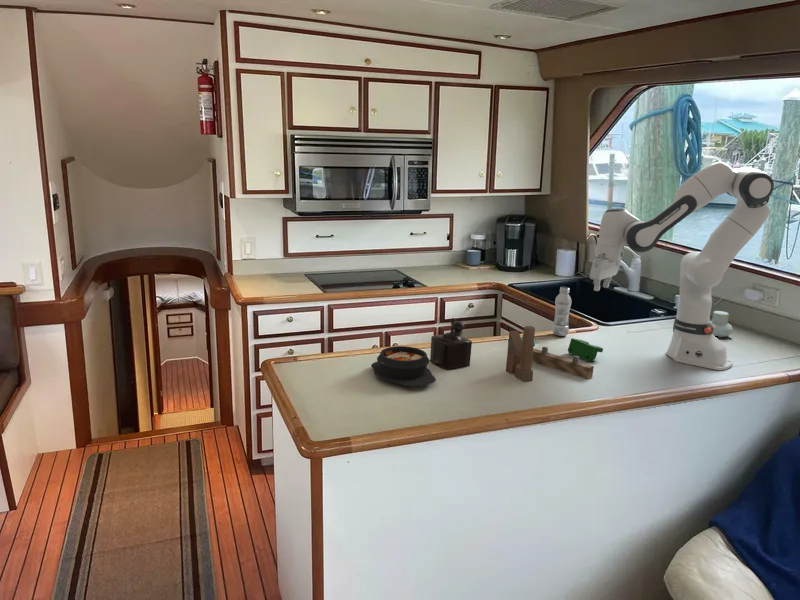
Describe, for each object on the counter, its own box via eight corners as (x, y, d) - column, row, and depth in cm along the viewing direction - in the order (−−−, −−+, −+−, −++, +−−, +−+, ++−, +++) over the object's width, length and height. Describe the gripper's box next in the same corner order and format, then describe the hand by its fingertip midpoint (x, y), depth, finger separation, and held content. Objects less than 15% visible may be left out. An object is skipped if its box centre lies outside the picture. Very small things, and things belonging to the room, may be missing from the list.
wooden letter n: (514, 369, 216) (518, 319, 211) (532, 381, 206) (538, 328, 202) (505, 371, 214) (509, 320, 210) (523, 382, 205) (528, 329, 200)
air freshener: (700, 331, 272) (704, 309, 269) (718, 331, 272) (722, 309, 270) (715, 339, 261) (719, 316, 259) (734, 339, 262) (738, 316, 259)
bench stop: (592, 377, 212) (594, 360, 210) (588, 379, 210) (590, 362, 208) (531, 358, 228) (532, 342, 227) (526, 360, 226) (528, 344, 224)
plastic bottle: (559, 338, 252) (564, 290, 248) (548, 333, 258) (553, 286, 253) (571, 337, 255) (577, 289, 250) (560, 332, 261) (565, 285, 256)
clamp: (593, 370, 231) (607, 352, 227) (582, 369, 228) (596, 350, 224) (575, 349, 240) (588, 331, 236) (564, 347, 236) (577, 329, 232)
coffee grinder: (427, 361, 220) (430, 312, 216) (453, 357, 226) (456, 308, 221) (453, 376, 207) (456, 324, 203) (480, 371, 213) (484, 320, 209)
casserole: (357, 370, 209) (358, 346, 207) (403, 361, 220) (404, 338, 218) (401, 396, 190) (402, 370, 187) (449, 385, 200) (450, 360, 198)
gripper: (606, 256, 221) (599, 294, 224) (625, 251, 237) (618, 287, 240) (589, 253, 224) (582, 290, 228) (609, 248, 240) (602, 283, 244)
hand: (601, 289), depth 234 cm, fingers open, 8 cm apart
